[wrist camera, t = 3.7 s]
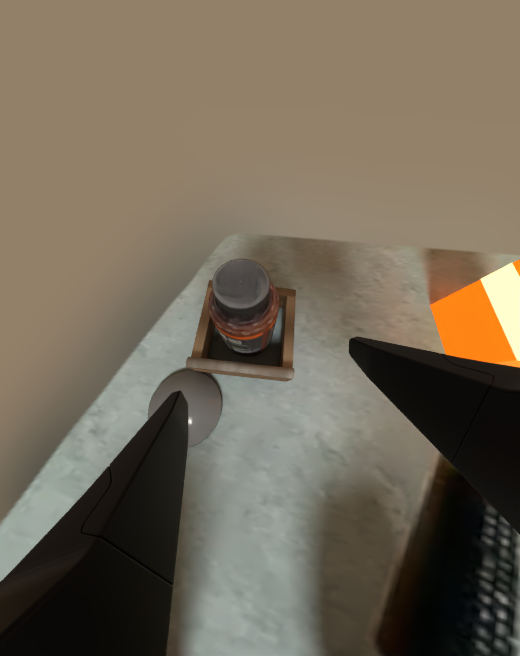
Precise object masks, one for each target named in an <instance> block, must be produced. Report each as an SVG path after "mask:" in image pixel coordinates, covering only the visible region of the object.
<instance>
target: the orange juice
mask: <svg viewBox="0 0 520 656" xmlns="http://www.w3.org/2000/svg"><path fill="white" fill-rule="evenodd" d="M430 306H431V309H432V312H433V315H434V318H435V321H436V325H437V328H438V331H439V334H440V337H441V340H442V343H443V346H444V349H445V353H446V355H451V356H456V357H461V358H466V359H472V360H478V361H484V362H490V363H496V364H502V365H508V366H514V367H520V260H518V261H516V262H514V263H511V264H509V265H507V266H505V267H503V268H501V269H499V270H497V271H495V272H493V273H491V274H489V275H487V276H485V277H483V278H481V279H480V280H479V281H477V282H475V283H473V284H471V285H469V286H467V287H465V288H463V289H461V290H459V291H457V292H455V293H453V294H451V295H449V296H447V297H445V298H443V299H441V300H439V301H438V302H436V303H434V304H432V305H430Z"/></svg>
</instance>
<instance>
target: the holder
mask: <svg viewBox="0 0 520 656" xmlns="http://www.w3.org/2000/svg"><path fill="white" fill-rule="evenodd" d="M275 289H276V291H277V294H278V297H279V307H282V308H283V317H282V332H281V346H280V361H279V367H276V366H267V365H258V364H249V363H240V362H231V361H222V360H213V359H209V354H210V349H211V344H212V339H213V334H214V330H215V324H214V322H213V320H212V318H211V316H210V314H209V309H208V299H209V295H210V292H211V290H212V281H211V280H209V284H208V288H207V292H206V296H205V301H204V305H203V309H202V313H201V317H200V322H199V326H198V330H197V334H196V338H195V343H194V347H193V351H192V355H191V357H188V358H187V360H186V367H189V368H190V369H192V370H195V371H198V372H206V373H215V374H224V375H233V376H242V377H251V378H260V379H269V380H278V381H289V380H292V379H293V378H294V368H292V366H293V343H294V319H295V296H296V290H294V289H285V288H276V287H275Z"/></svg>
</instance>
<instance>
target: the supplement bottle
mask: <svg viewBox="0 0 520 656" xmlns="http://www.w3.org/2000/svg"><path fill="white" fill-rule="evenodd" d="M208 309H209V314H210V316H211V318H212V320H213V322H214V324H215V326H216V328H217V329H218V331H219V333H220V334H221V336H222V338H223V340H224V341H225V343H226V345H227V346H228V347H229V348H230V350H232V351H233V352H234V353H236V354H238V355H241V356H254V355H257V354H259V353H261V352H262V351H263V350H264V349H265V348H266V347H267V346H268V345H269V343H270V341H271V338H272V334H273V330H274V327H275V323H276V319H277V315H278V311H279V297H278V294H277V291H276V289H275V287H274V286H273V284H272V283H271V282H270V279H269V276H268V273H267V272H266V270H265V269H264V268H263V267H262V266H261V265H260V264H258V263H257V262H254V261H252V260H248V259H236V260H231V261H229V262H227V263H225V264H223V265H222V266H221V267H220V268H218V270H217V271H216V272H215V274H214V276H213V280H212V290H211V292H210V295H209V299H208Z"/></svg>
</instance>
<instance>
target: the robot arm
mask: <svg viewBox="0 0 520 656" xmlns="http://www.w3.org/2000/svg"><path fill="white" fill-rule="evenodd" d="M349 354H350V356H351V357H352V358H353V359H354V361H355V362H356V363H357V364H358V366H359V367H360V368H361V370H362V371H363V372H364V373H365V374H366V376H367V377H368V378H369V379H370V380H371V381H372V382H373V383H374V384H375V385H376V386H377V387H378V388H379V389H380V390H381V392H382V393H383V394H384V395H385V396H386V397H387V398H388V399H389V400H390V401H391V402H392V403H393V404H394V405H395V406H396V407H397V408H398V409H399V410H400V411H401V412H402V413H403V414H404V415H405V416H406V417H407V418H408V419H409V420H410V421H411V422H412V423H413V425H414V426H415V427H416V428H417V429H418V430H419V431H420V432H421V433H422V434H423V435H424V436H425V437H426V438H427V439H428V440H429V441H430V442H431V443H432V444H433V445H434V446H435V447H436V448H437V449H438V450H439V451H440V452H441V453H442V454H443V455H444V457H445V458H446V459H447V460H448V461H449V462H450V463H452V465H453V466H454V467H455V468H456V469H457V470H458V471H459V472H460V473H461V474H462V475H463V476H464V477H465V478H466V479H467V480H468V481H469V482H470V483H471V485H472V486H473V487H474V488H475V489H476V490H477V491H478V492H479V493H480V494H481V495H482V496H483V497H484V498H485V499H486V500H487V501H488V502H489V503H490V504H491V505H492V506H493V507H494V508H495V509H496V510H497V511H498V512H499V513H500V514H501V515H502V517H503V518H504V519H505V520H506V521H507V522H508V523H509V524H510V525H511V526H512V527H513V528H514V529H515V530H516V531H517V532H518V533H519V534H520V367H514V366H508V365H502V364H496V363H490V362H484V361H478V360H472V359H466V358H461V357H456V356H451V355H446V354H439V353H436V352H431V351H426V350H421V349H416V348H412V347H407V346H402V345H397V344H392V343H387V342H382V341H377V340H372V339H367V338H363V337H354V338H351V339H350V340H349ZM188 435H189V429H188V403H187V400H186V399H185V397H184V395H183V393H182V391H180V390H179V391H175V392H172V393H171V394H170V395H169V396H168V397H167V399H166V400H165V401H164V402H163V403H162V404H161V406H160V407H159V408H158V409H157V410H156V411H155V413H154V414H153V415H152V416H151V417H150V418H149V420H148V421H147V422H146V423H145V424H144V425H143V426H142V428H141V429H140V430H139V431H138V432H137V433H136V435H135V436H134V437H133V438H132V439H131V440H130V442H129V443H128V444H127V445H126V446H125V447H124V449H123V450H122V451H121V452H120V453H119V454H118V456H117V457H116V458H115V459H114V460H113V461H112V463H111V464H110V466H108V467H107V468H106V469H105V471H104V472H103V473H102V474H101V475H100V476H99V478H98V479H97V480H96V481H95V482H94V483H93V484H92V486H91V487H90V488H89V489H88V490H87V491H86V492H85V493H84V495H83V496H82V497H81V498H80V499H79V500H78V501H77V502H76V503H75V504H74V505H73V506H72V508H71V509H70V510H69V511H68V512H67V513H66V514H65V515H64V516H63V517H62V518H61V519H60V520H59V521H58V522H57V523H56V525H55V526H54V527H53V528H52V529H51V530H50V531H49V532H48V533H47V534H46V535H45V536H44V537H43V538H42V539H41V540H40V541H39V542H38V544H37V545H36V546H35V547H34V548H33V549H32V550H31V551H30V552H29V553H28V554H27V555H26V556H25V557H24V558H23V559H22V560H21V561H20V563H19V564H18V565H17V566H16V567H15V568H14V569H13V570H12V571H11V572H10V573H9V574H8V575H7V576H6V577H5V578H4V579H3V580H2V581H1V582H0V656H166V650H167V640H168V631H169V621H170V612H171V602H172V593H173V586H172V585H173V582H174V572H175V563H176V553H177V544H178V534H179V525H180V515H181V506H182V496H183V487H184V477H185V467H186V458H187V448H188Z"/></svg>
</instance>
